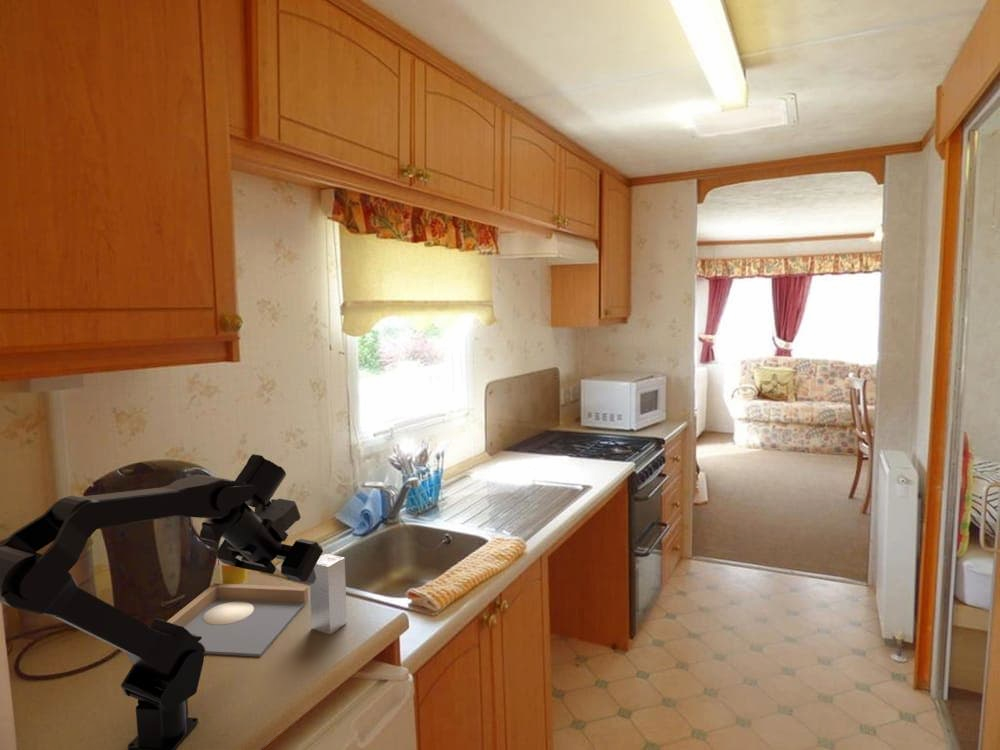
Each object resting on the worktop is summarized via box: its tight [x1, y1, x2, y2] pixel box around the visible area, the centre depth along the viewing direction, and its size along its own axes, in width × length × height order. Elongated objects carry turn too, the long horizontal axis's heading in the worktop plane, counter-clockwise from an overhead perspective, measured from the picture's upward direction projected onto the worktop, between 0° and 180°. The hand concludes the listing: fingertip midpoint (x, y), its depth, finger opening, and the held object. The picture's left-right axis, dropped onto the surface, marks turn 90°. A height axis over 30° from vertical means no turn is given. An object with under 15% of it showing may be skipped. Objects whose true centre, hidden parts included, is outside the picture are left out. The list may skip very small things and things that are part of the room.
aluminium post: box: [309, 553, 348, 635], centre depth 114 cm, size 4×4×13 cm
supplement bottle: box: [218, 559, 249, 585], centre depth 130 cm, size 5×5×10 cm
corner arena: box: [166, 582, 309, 658], centre depth 115 cm, size 20×20×3 cm
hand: (293, 576), depth 107 cm, fingers open, 9 cm apart
